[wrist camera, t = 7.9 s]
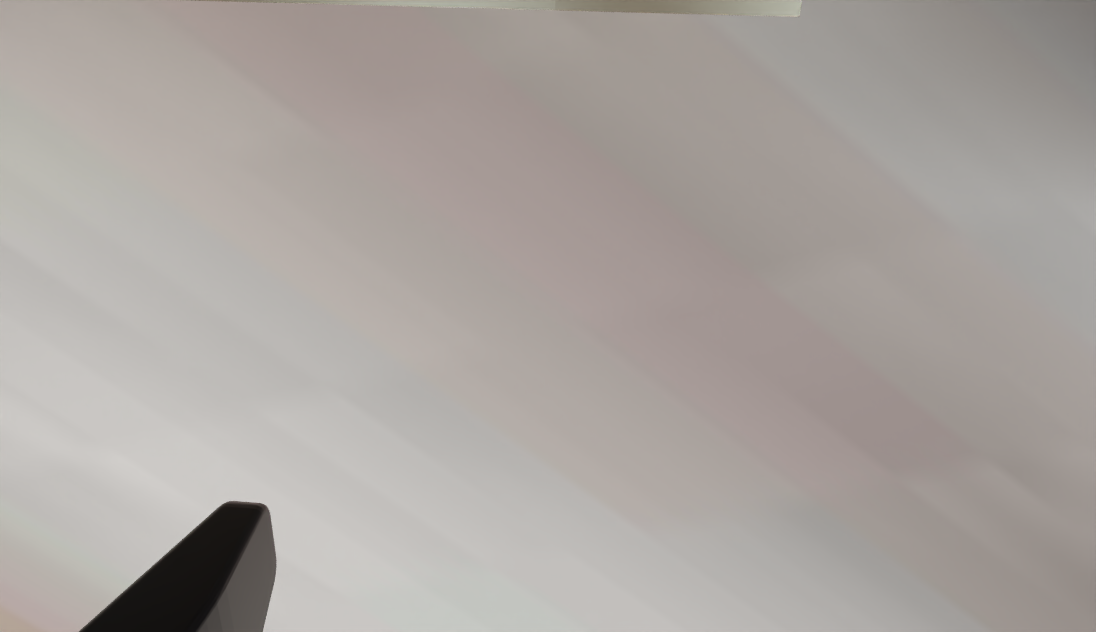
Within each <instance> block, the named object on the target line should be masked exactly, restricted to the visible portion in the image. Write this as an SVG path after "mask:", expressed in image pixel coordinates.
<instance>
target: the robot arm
mask: <svg viewBox="0 0 1096 632" xmlns="http://www.w3.org/2000/svg"><path fill="white" fill-rule="evenodd" d="M275 575H276V553H275V546H274V538H273V531H272V524H271V516H270V512H269V510H268V508H267V506H266V505H264V504H261V503H251V502H238V501H229V502H226V503H224V504H222V505H221V506H220V507H218V508H217V509H216V510H215V511H214V512H213V513H212V514H211V515H209V516H208V517H207V518H206V519H205V520H204V521H203V522H202V523H200V524H199V525H198V526H197V527H196V528H195V529H194V530H193V531H191V532H190V533H189V534H188V535H187V536H186V537H185V538H184V539H182V540H181V541H180V542H179V543H178V544H177V545H176V546H175V547H173V548H172V549H171V550H170V551H169V552H168V553H167V554H166V555H164V556H163V557H162V558H161V559H160V560H159V561H158V562H157V563H155V564H154V565H153V566H152V567H151V568H150V569H149V570H148V571H146V572H145V573H144V574H143V575H142V576H141V577H140V578H139V579H137V580H136V581H135V582H134V583H133V584H132V585H131V586H130V587H128V588H127V589H126V590H125V591H124V592H123V593H122V594H121V595H119V596H118V597H117V598H116V599H115V600H114V601H113V602H112V603H110V604H109V605H108V606H107V607H106V608H105V609H104V610H103V611H101V612H100V613H99V614H98V615H97V616H96V617H95V618H94V619H92V620H91V621H90V622H89V623H88V624H87V625H86V626H85V627H83V628H82V629H81V630H80V631H79V632H263V628H264V624H265V619H266V615H267V611H268V607H269V602H270V598H271V594H272V590H273V585H274V581H275Z"/></svg>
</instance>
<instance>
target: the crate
mask: <svg viewBox="0 0 1096 632" xmlns="http://www.w3.org/2000/svg"><path fill="white" fill-rule="evenodd" d="M195 1H232V2H269V3H306V4H342V5H379V6H416V7H452V8H489V9H526V10H563V11H599V12H636V13H673V14H710V15H746V16H783V17H799V15H800V9H801V3H802V0H195Z"/></svg>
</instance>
